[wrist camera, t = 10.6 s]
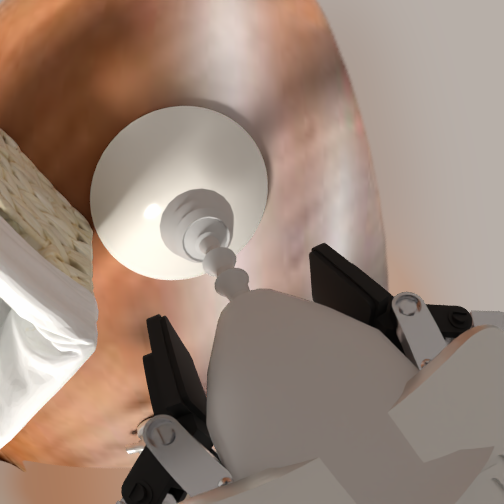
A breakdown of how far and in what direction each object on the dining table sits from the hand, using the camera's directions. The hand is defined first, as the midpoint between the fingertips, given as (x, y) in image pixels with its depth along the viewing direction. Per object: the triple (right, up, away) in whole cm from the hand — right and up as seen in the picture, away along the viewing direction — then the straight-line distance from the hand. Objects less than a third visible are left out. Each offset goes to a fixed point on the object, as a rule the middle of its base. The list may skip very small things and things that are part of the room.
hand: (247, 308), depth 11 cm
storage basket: (-25, +2, +6) cm, 26 cm away
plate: (-6, +7, +12) cm, 16 cm away
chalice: (-3, +4, +7) cm, 9 cm away
